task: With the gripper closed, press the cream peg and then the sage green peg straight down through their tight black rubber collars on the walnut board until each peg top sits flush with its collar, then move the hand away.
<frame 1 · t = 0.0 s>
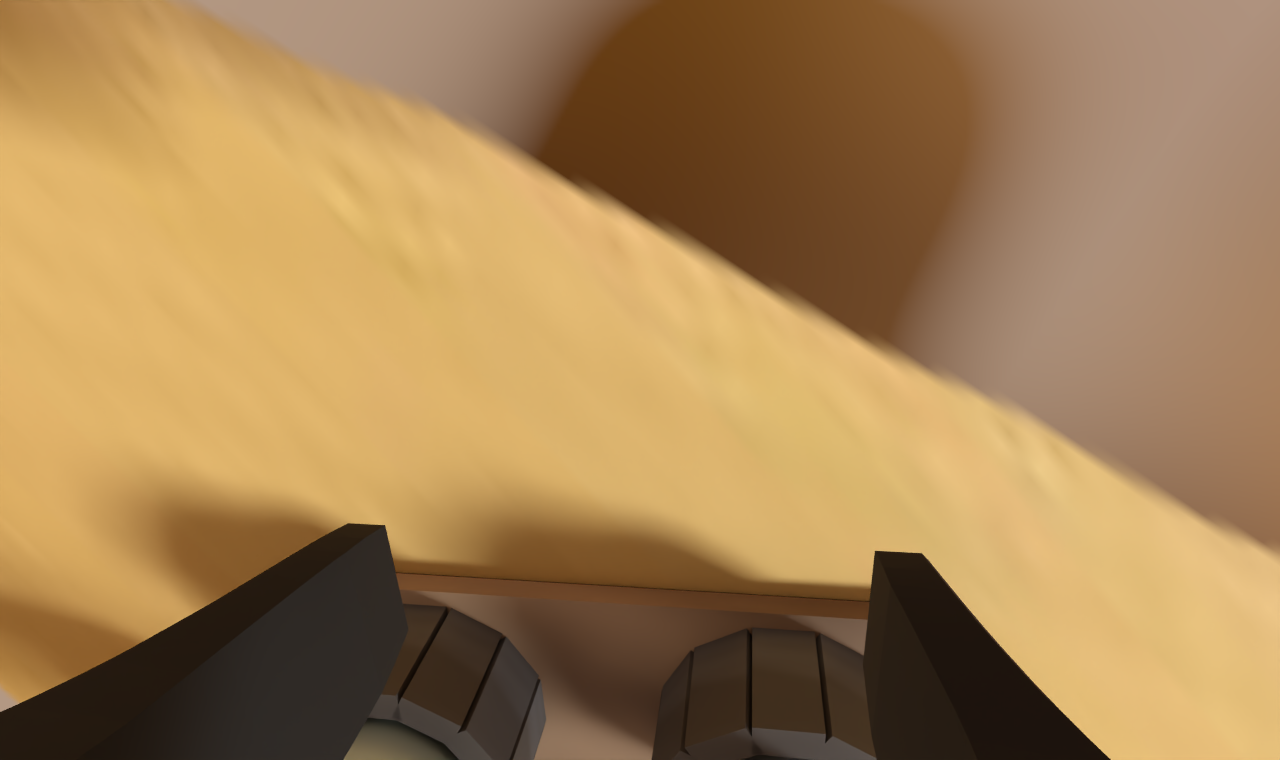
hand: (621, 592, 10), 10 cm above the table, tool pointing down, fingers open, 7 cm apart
collar board: (606, 686, 25), on the table
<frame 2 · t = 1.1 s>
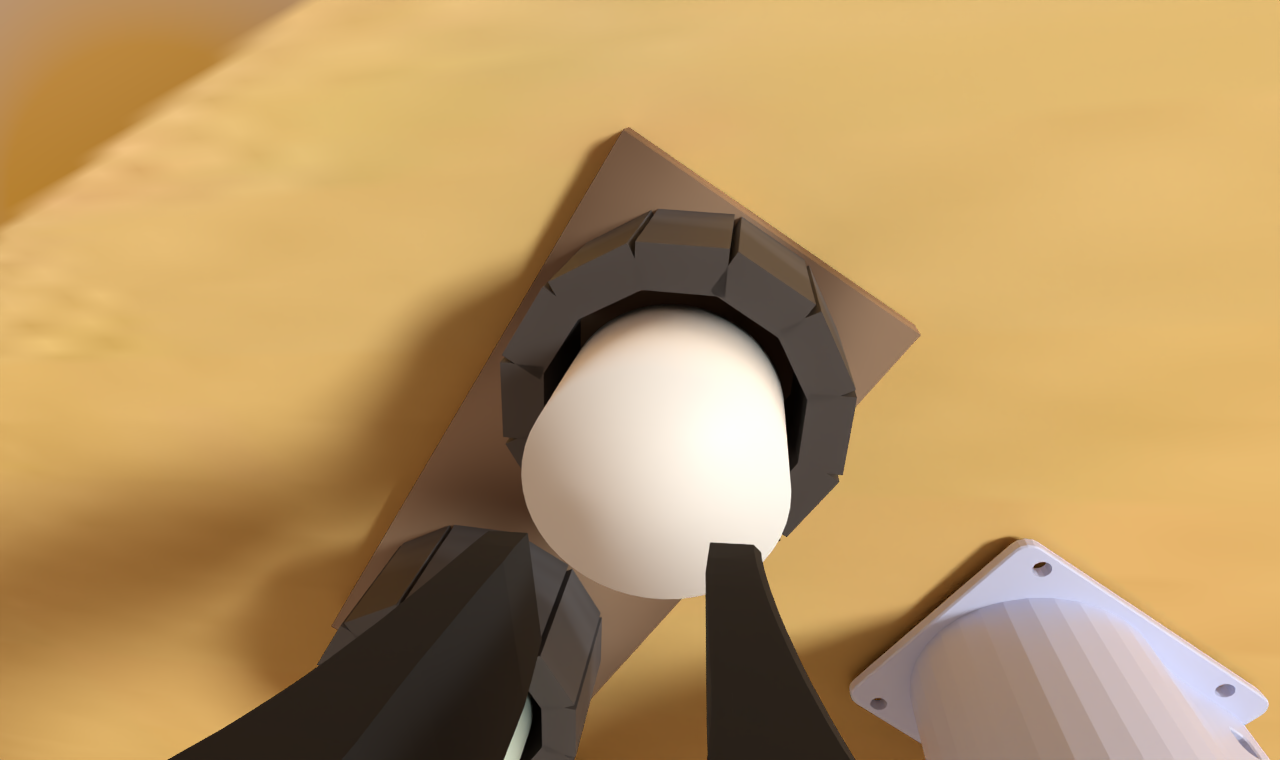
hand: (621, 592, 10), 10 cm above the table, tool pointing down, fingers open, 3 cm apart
collar board: (581, 491, 22), on the table
peg sage: (427, 750, 20), point 6 cm above the table, slide at 0.0 cm
peg cream: (663, 445, 15), point 6 cm above the table, slide at 0.0 cm
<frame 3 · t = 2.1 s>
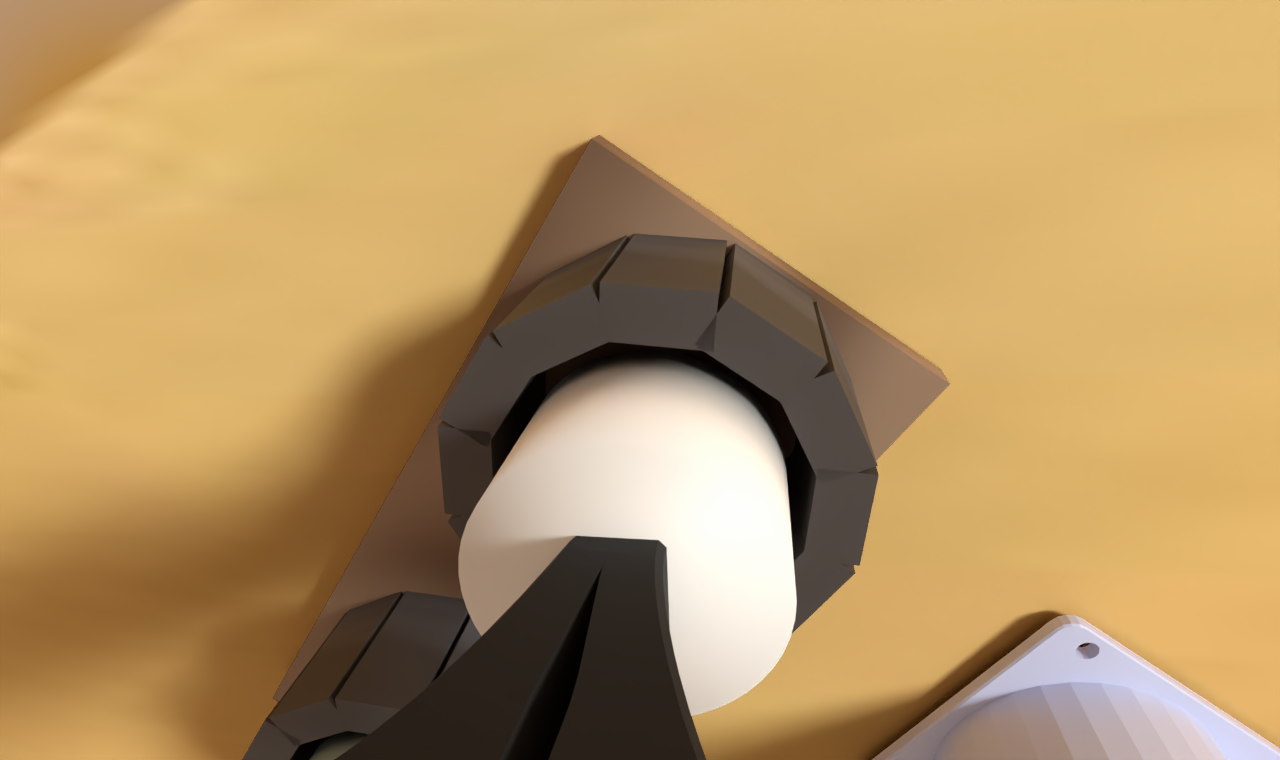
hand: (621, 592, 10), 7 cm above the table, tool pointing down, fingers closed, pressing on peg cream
collar board: (552, 553, 19), on the table
peg cream: (639, 525, 12), point 5 cm above the table, slide at 0.3 cm, touching gripper
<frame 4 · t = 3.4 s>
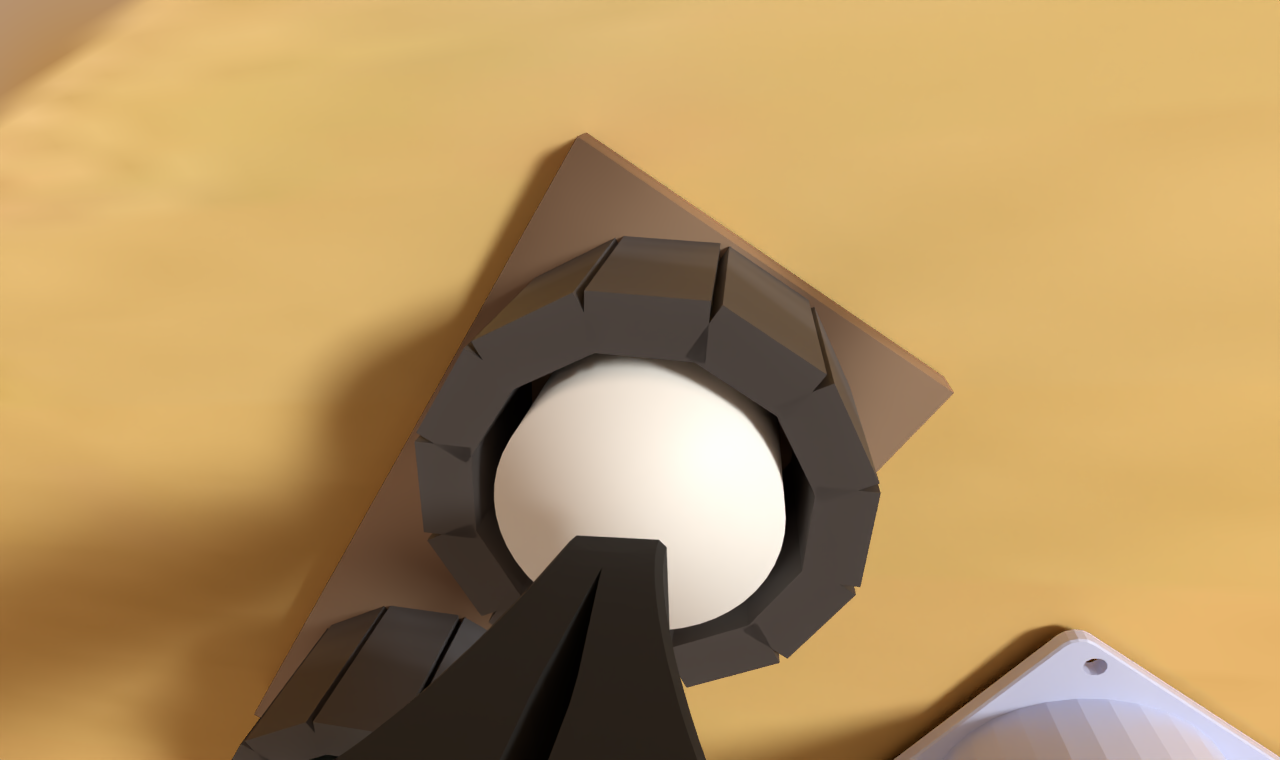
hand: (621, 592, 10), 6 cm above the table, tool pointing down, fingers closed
collar board: (541, 566, 19), on the table
peg cream: (649, 464, 14), point 3 cm above the table, slide at 2.9 cm
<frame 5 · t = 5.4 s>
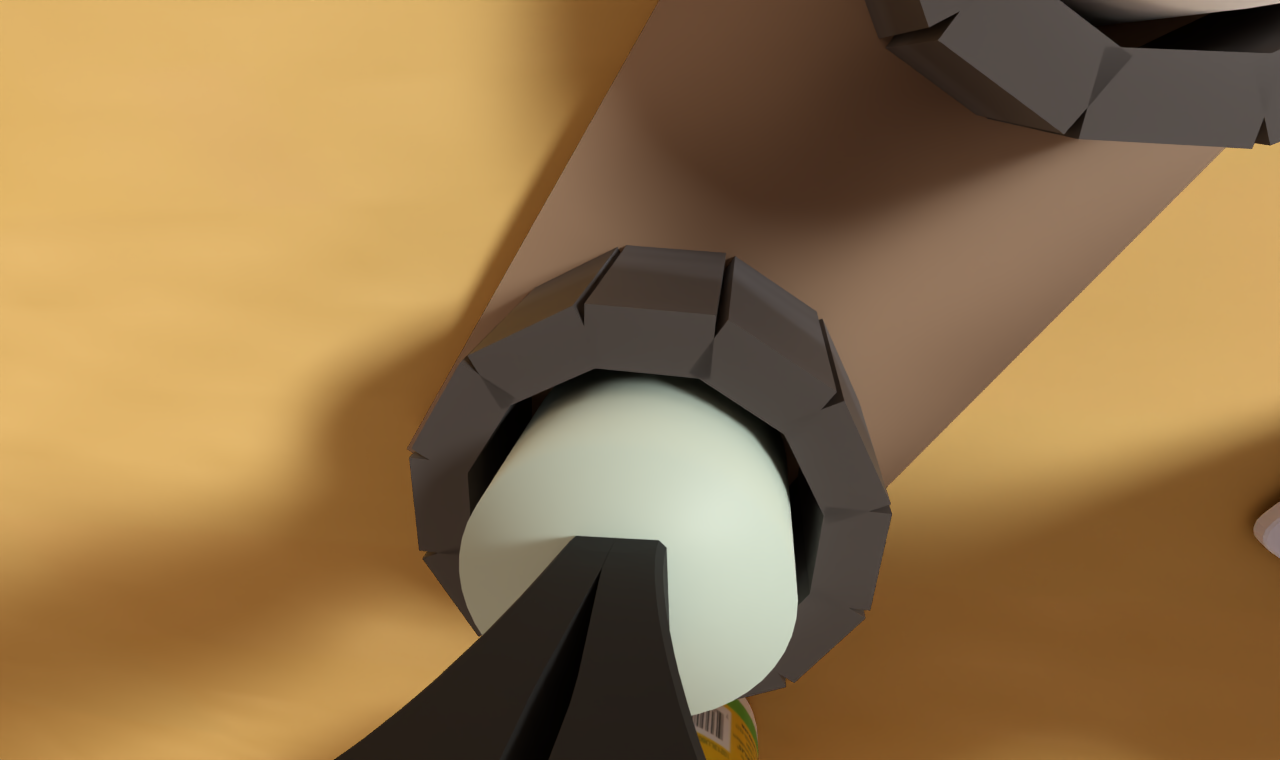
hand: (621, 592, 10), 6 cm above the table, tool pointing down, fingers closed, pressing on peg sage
collar board: (843, 183, 13), on the table
peg sage: (640, 524, 12), point 4 cm above the table, slide at 1.5 cm, touching gripper
supplement bottle: (661, 710, 20), on the table
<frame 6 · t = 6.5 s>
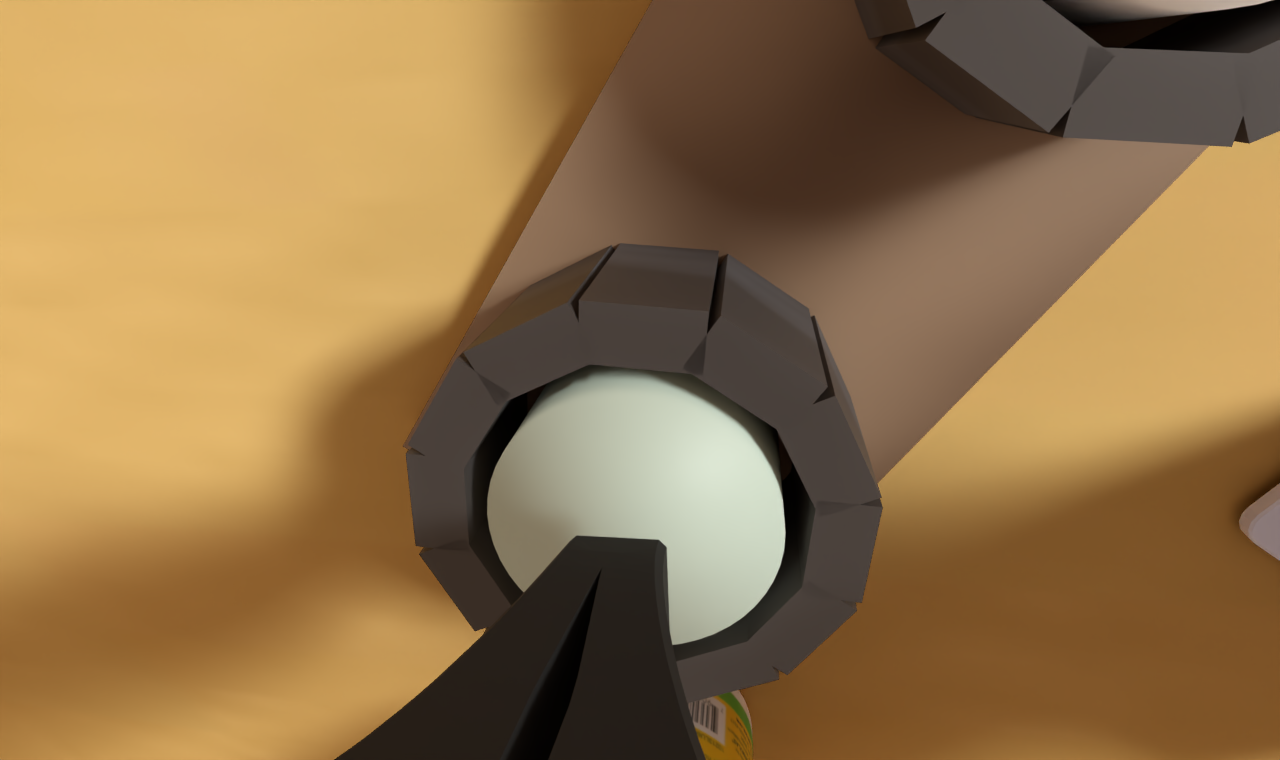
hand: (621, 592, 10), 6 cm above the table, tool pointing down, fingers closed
collar board: (834, 181, 13), on the table
peg sage: (646, 475, 13), point 3 cm above the table, slide at 2.9 cm
supplement bottle: (656, 705, 20), on the table
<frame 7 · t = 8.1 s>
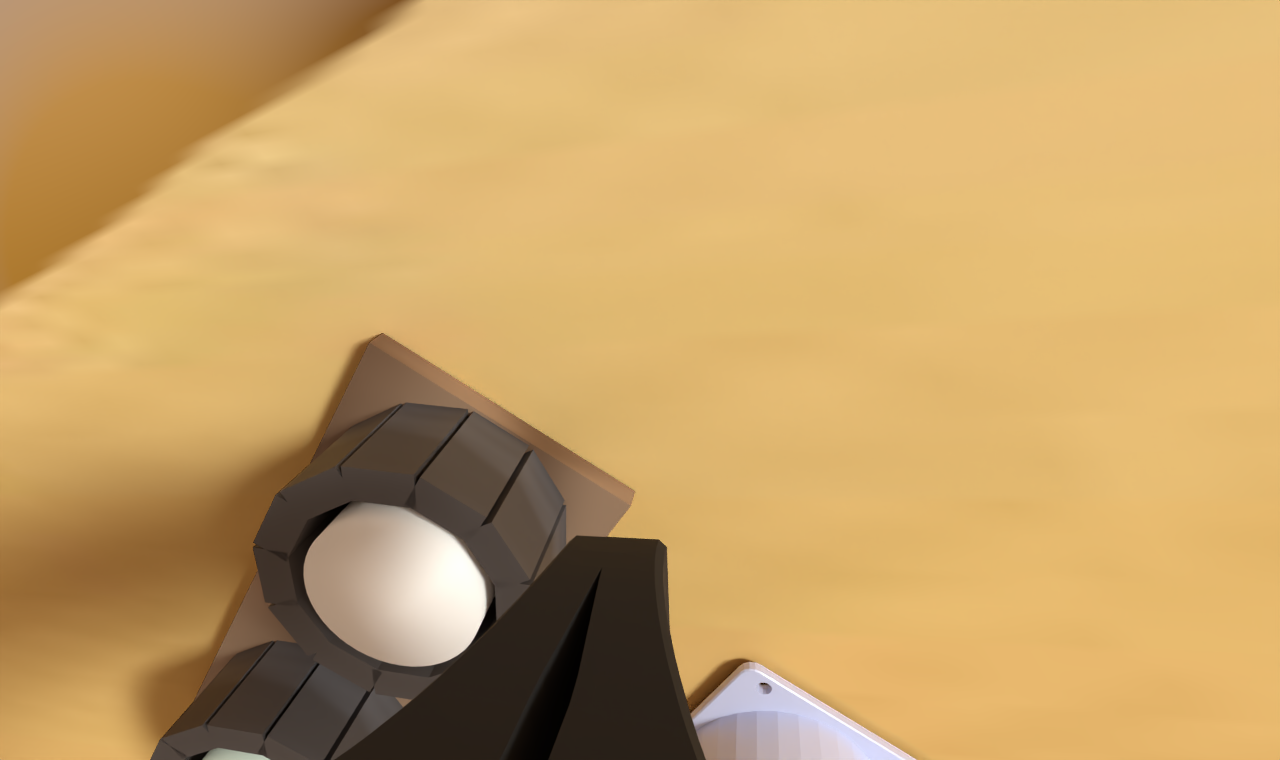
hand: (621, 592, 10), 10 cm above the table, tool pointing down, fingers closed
collar board: (385, 612, 26), on the table
peg cream: (419, 555, 21), point 3 cm above the table, slide at 2.9 cm
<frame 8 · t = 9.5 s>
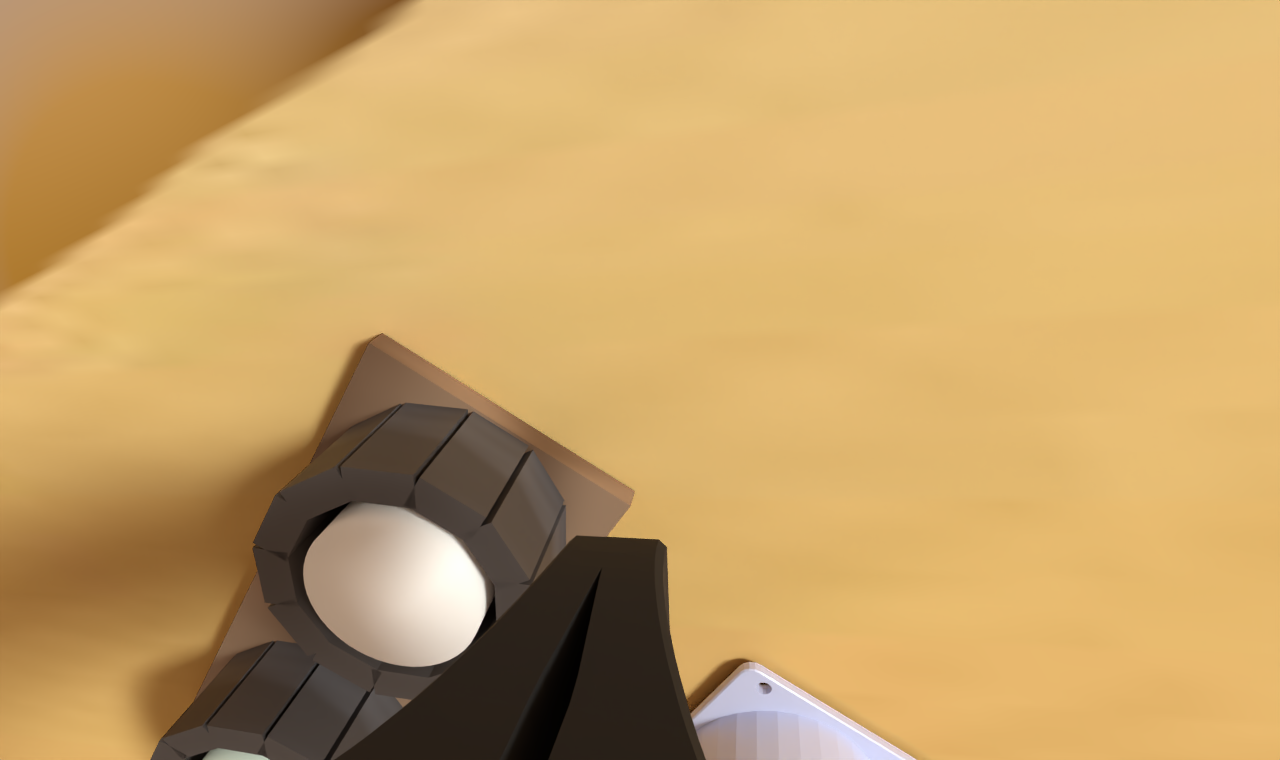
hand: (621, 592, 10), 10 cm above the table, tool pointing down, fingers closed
collar board: (385, 612, 26), on the table
peg cream: (418, 555, 21), point 3 cm above the table, slide at 2.9 cm
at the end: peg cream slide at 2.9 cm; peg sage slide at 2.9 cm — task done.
